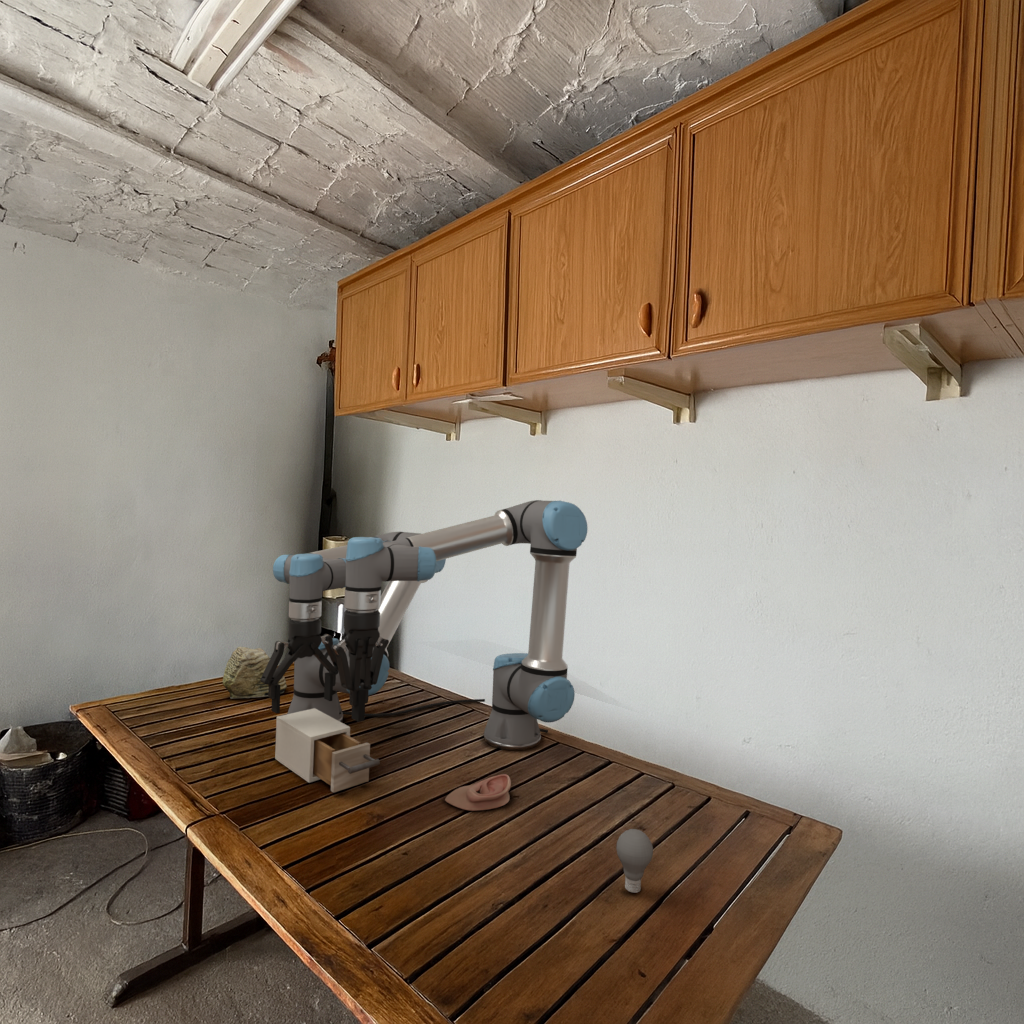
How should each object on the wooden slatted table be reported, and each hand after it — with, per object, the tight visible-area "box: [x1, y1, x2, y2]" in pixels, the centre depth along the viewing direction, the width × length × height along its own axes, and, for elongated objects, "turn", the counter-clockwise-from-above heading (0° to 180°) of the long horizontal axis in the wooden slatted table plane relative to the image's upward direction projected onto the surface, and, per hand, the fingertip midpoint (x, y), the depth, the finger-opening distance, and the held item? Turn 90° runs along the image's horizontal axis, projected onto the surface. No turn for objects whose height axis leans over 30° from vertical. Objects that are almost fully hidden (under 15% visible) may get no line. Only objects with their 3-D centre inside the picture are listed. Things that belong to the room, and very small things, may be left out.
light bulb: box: [615, 828, 654, 894], centre depth 106 cm, size 6×6×10 cm
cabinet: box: [274, 708, 351, 784], centre depth 149 cm, size 17×10×10 cm, turn 46°
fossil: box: [222, 646, 288, 699], centre depth 198 cm, size 9×18×15 cm, turn 132°
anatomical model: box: [444, 773, 512, 812], centre depth 136 cm, size 13×4×12 cm
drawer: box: [313, 733, 381, 794], centre depth 140 cm, size 21×9×8 cm, turn 46°
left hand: (302, 705), depth 153 cm, fingers open, 13 cm apart
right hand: (358, 719), depth 135 cm, fingers closed
